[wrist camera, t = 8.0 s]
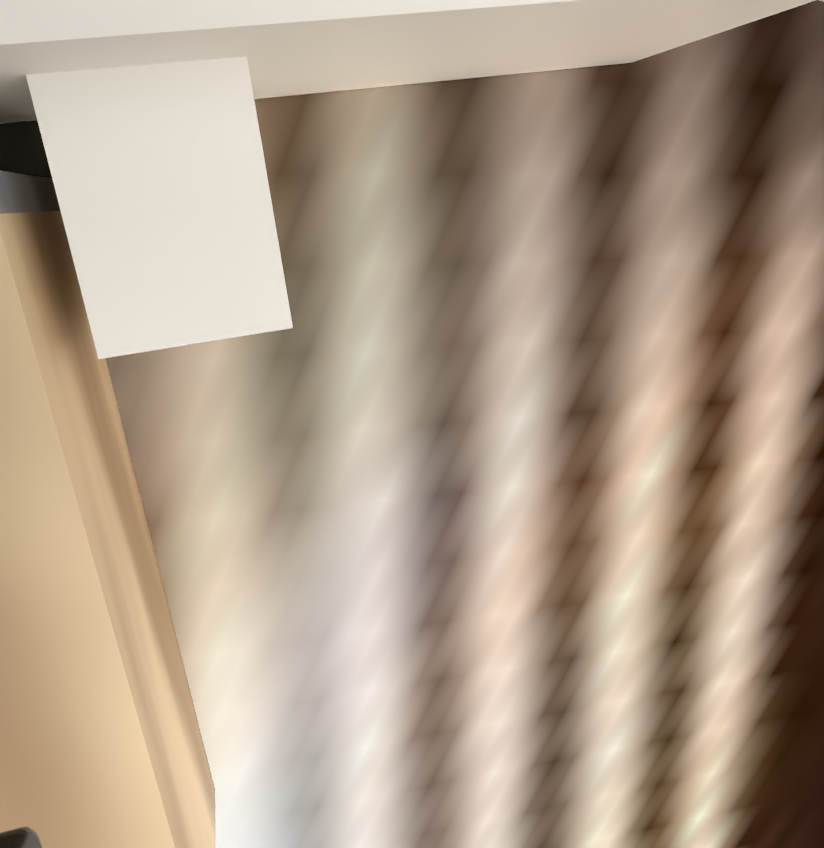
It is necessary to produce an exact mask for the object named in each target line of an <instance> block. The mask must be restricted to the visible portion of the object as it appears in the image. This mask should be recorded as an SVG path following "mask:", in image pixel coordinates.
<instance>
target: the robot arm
mask: <svg viewBox="0 0 824 848" xmlns="http://www.w3.org/2000/svg"><path fill="white" fill-rule="evenodd" d="M0 848H43V847H42V844H41V842H40V839H39V837H38V835H37V833H36V832H35V831H34V829H32V828H30V827H20V828H17V829H13V830H9V831H5V832H1V833H0Z"/></svg>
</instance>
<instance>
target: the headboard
mask: <svg viewBox="0 0 824 848" xmlns="http://www.w3.org/2000/svg"><path fill="white" fill-rule="evenodd" d="M813 1H816V0H0V124H3V123H14V122H24V121H34V120H37V121H38V125H39V129H40V133H41V136H42V140H43V144H44V148H45V152H46V156H47V160H48V164H49V168H50V172H51V176H52V180H53V183H54V187H55V191H56V195H57V199H58V203H59V207H60V211H61V215H62V219H63V223H64V227H65V230H66V234H67V238H68V242H69V246H70V250H71V254H72V258H73V262H74V266H75V270H76V273H77V277H78V281H79V285H80V289H81V293H82V297H83V301H84V305H85V309H86V313H87V317H88V320H89V324H90V328H91V332H92V336H93V340H94V344H95V348H96V352H97V356H98V359H103V358H109V357H116V356H122V355H128V354H134V353H140V352H147V351H153V350H159V349H165V348H171V347H178V346H184V345H190V344H196V343H202V342H209V341H215V340H221V339H227V338H233V337H240V336H246V335H252V334H258V333H265V332H271V331H277V330H283V329H289V328H293V325H292V319H291V314H290V308H289V302H288V296H287V290H286V284H285V278H284V272H283V266H282V260H281V255H280V249H279V243H278V237H277V231H276V225H275V219H274V213H273V207H272V202H271V196H270V190H269V184H268V178H267V172H266V166H265V160H264V154H263V148H262V143H261V137H260V131H259V125H258V119H257V113H256V107H255V101H254V99H261V98H272V97H282V96H292V95H303V94H313V93H323V92H334V91H344V90H354V89H365V88H375V87H385V86H396V85H406V84H416V83H427V82H437V81H447V80H458V79H468V78H478V77H489V76H499V75H509V74H520V73H530V72H540V71H551V70H561V69H571V68H582V67H592V66H602V65H613V64H623V63H632V62H635V61H638V60H641V59H644V58H647V57H650V56H653V55H656V54H659V53H662V52H665V51H668V50H671V49H673V48H676V47H679V46H682V45H685V44H688V43H691V42H694V41H697V40H700V39H703V38H706V37H709V36H712V35H715V34H718V33H721V32H724V31H727V30H730V29H733V28H736V27H739V26H742V25H745V24H748V23H750V22H753V21H756V20H759V19H762V18H765V17H768V16H771V15H774V14H777V13H780V12H783V11H786V10H789V9H792V8H795V7H798V6H801V5H804V4H807V3H810V2H813ZM819 1H822V2H824V0H819Z"/></svg>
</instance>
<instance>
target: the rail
mask: <svg viewBox="0 0 824 848" xmlns="http://www.w3.org/2000/svg"><path fill="white" fill-rule="evenodd" d="M20 827H30V828H32V829H34V831H35V832H36V833H37V835H38V837H39V839H40V842H41V844H42V847H43V848H215V788H214V784H213V780H212V776H211V772H210V768H209V764H208V760H207V756H206V752H205V749H204V745H203V741H202V737H201V733H200V729H199V725H198V721H197V717H196V713H195V709H194V705H193V701H192V697H191V693H190V689H189V685H188V682H187V678H186V674H185V670H184V666H183V662H182V658H181V654H180V650H179V646H178V642H177V638H176V634H175V630H174V626H173V622H172V618H171V615H170V611H169V607H168V603H167V599H166V595H165V591H164V587H163V583H162V579H161V575H160V571H159V567H158V563H157V559H156V555H155V551H154V548H153V544H152V540H151V536H150V532H149V528H148V524H147V520H146V516H145V512H144V508H143V504H142V500H141V496H140V492H139V488H138V484H137V481H136V477H135V473H134V469H133V465H132V461H131V457H130V453H129V449H128V445H127V441H126V437H125V433H124V429H123V425H122V421H121V418H120V414H119V410H118V406H117V402H116V398H115V394H114V390H113V386H112V382H111V378H110V374H109V370H108V366H107V362H106V358H103V359H98V356H97V352H96V348H95V344H94V340H93V336H92V332H91V328H90V324H89V320H88V317H87V313H86V309H85V305H84V301H83V297H82V293H81V289H80V285H79V281H78V277H77V273H76V270H75V266H74V262H73V258H72V254H71V250H70V246H69V242H68V238H67V234H66V230H65V227H64V223H63V219H62V215H61V211H60V207H59V203H58V199H57V195H56V191H55V187H54V183H53V180H52V179H51V178H45V177H38V176H32V175H26V174H20V173H13V172H7V171H1V170H0V833H1V832H5V831H9V830H13V829H17V828H20Z"/></svg>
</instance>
